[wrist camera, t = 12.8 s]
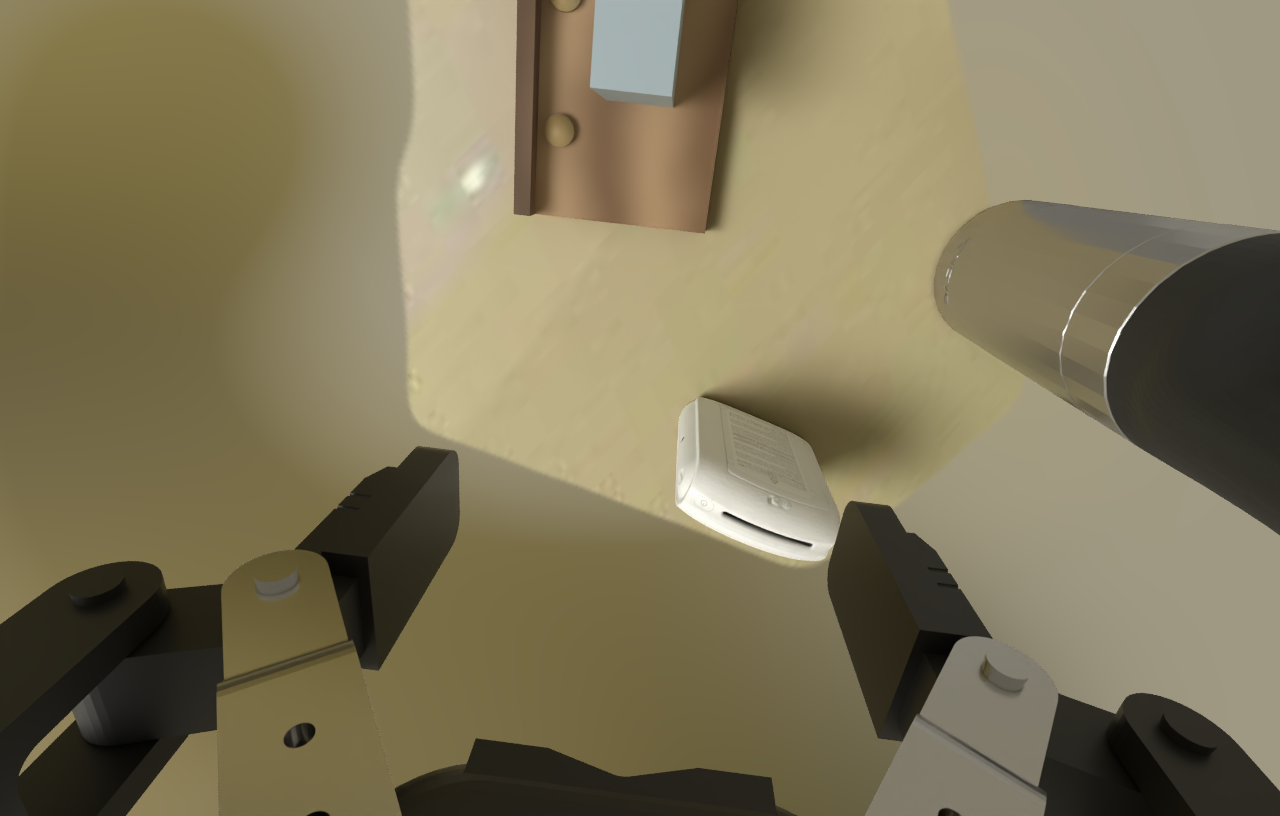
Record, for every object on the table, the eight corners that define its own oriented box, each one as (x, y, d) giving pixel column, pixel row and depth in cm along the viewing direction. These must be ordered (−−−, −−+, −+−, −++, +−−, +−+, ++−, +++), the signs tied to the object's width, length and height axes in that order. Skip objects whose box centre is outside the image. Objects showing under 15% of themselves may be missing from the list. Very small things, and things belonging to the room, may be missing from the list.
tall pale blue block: (692, -58, 32) (695, -112, 25) (673, 107, 35) (671, 96, 28) (618, -66, 32) (602, -122, 25) (606, 100, 35) (589, 87, 29)
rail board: (749, -91, 32) (759, -126, 28) (704, 231, 39) (706, 239, 35) (531, -115, 32) (511, -152, 28) (524, 210, 39) (506, 216, 35)
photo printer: (668, 434, 45) (664, 529, 33) (691, 386, 43) (695, 469, 32) (789, 483, 46) (825, 591, 34) (816, 438, 44) (864, 535, 33)
